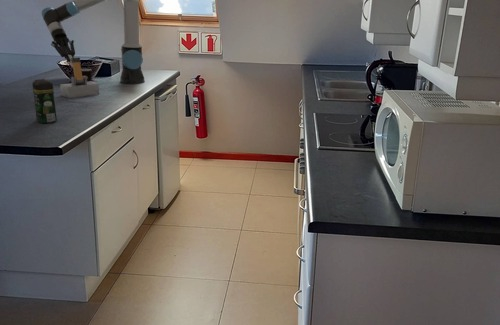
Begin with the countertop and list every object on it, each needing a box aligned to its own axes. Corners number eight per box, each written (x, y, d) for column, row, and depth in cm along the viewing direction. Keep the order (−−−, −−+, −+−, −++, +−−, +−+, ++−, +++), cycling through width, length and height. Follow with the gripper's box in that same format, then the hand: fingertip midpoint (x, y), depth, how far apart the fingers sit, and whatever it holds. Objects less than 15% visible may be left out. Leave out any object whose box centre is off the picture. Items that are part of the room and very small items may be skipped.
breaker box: (61, 95, 271) (59, 77, 268) (91, 91, 283) (89, 74, 280) (68, 98, 265) (66, 79, 262) (99, 94, 277) (97, 76, 274)
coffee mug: (95, 85, 300) (93, 69, 297) (89, 88, 292) (88, 71, 289) (76, 84, 301) (75, 68, 298) (70, 87, 293) (69, 70, 290)
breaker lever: (74, 83, 271) (70, 58, 268) (82, 83, 274) (78, 57, 271) (76, 83, 270) (72, 58, 267) (84, 83, 273) (80, 57, 270)
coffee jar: (34, 119, 222) (29, 78, 215) (52, 117, 226) (48, 77, 220) (40, 124, 214) (35, 82, 208) (59, 122, 219) (54, 81, 213)
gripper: (66, 36, 284) (82, 69, 279) (44, 37, 275) (60, 71, 270) (70, 27, 279) (86, 60, 273) (47, 28, 270) (64, 62, 265)
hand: (73, 65), depth 272 cm, fingers closed
